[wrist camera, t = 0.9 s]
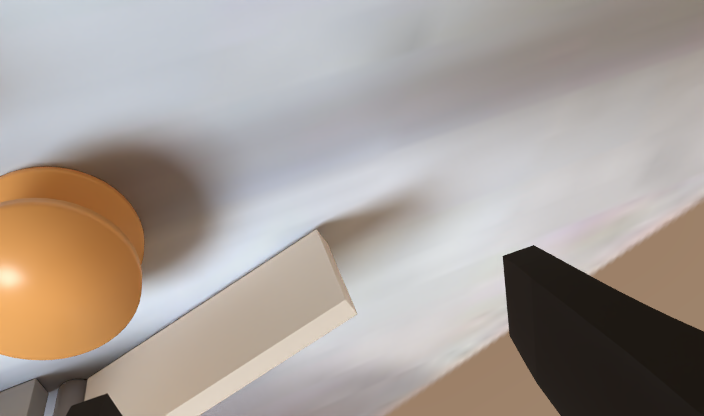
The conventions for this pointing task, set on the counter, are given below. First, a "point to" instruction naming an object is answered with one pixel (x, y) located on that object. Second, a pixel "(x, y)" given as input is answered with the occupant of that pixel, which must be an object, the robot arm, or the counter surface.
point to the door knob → (65, 263)
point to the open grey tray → (24, 400)
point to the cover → (226, 338)
